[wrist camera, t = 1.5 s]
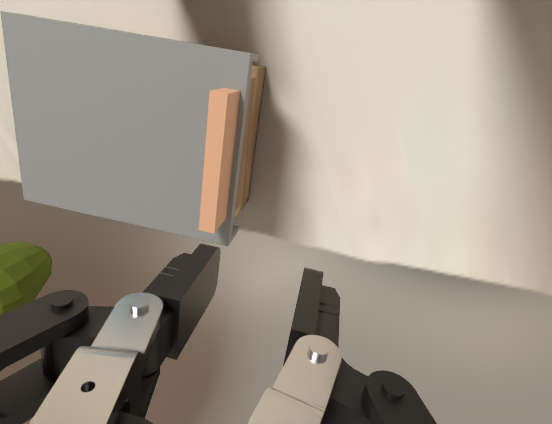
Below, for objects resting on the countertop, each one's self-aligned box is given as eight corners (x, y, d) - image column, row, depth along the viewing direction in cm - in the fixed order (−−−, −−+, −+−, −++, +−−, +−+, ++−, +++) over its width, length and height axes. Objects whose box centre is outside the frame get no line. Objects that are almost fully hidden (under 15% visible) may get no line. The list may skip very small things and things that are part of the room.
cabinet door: (260, 54, 28) (238, 52, 22) (237, 231, 34) (216, 263, 28) (32, 16, 30) (-39, 5, 24) (48, 189, 36) (-6, 211, 30)
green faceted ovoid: (74, 237, 44) (-12, 291, 34) (72, 293, 48) (-7, 358, 37) (8, 214, 45) (-96, 261, 34) (11, 271, 48) (-84, 330, 38)
